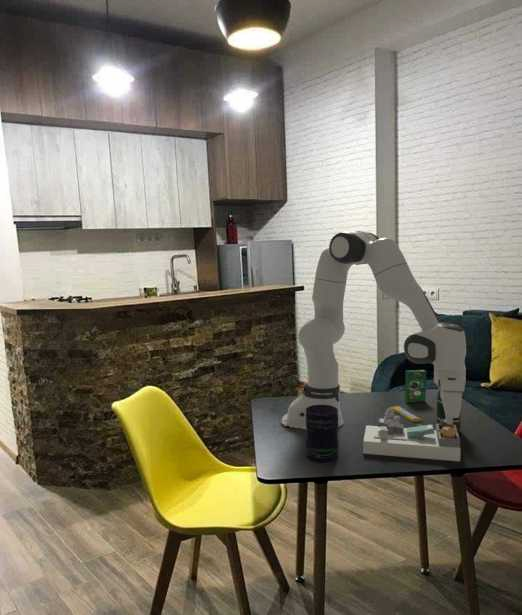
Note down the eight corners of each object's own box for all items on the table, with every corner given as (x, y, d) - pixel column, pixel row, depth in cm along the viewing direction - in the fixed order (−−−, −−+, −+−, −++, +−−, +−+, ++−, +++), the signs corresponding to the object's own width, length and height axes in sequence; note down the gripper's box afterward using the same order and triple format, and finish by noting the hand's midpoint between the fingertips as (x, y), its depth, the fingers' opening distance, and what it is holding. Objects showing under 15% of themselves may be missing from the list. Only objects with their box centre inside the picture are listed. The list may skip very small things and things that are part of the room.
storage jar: (335, 449, 158) (335, 404, 156) (341, 463, 148) (341, 414, 146) (304, 451, 158) (303, 405, 156) (308, 464, 148) (307, 415, 146)
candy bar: (424, 423, 181) (424, 418, 180) (413, 424, 179) (413, 419, 179) (399, 409, 197) (399, 404, 196) (389, 410, 196) (389, 405, 195)
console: (363, 453, 154) (363, 432, 154) (366, 436, 168) (366, 417, 167) (460, 461, 147) (460, 439, 146) (455, 443, 160) (455, 423, 159)
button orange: (442, 438, 149) (442, 430, 149) (441, 434, 152) (441, 426, 152) (455, 439, 148) (455, 431, 148) (454, 434, 151) (454, 427, 151)
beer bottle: (462, 435, 166) (464, 365, 164) (438, 434, 168) (439, 364, 165) (458, 427, 174) (459, 360, 171) (435, 426, 176) (435, 359, 173)
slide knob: (380, 438, 154) (380, 429, 154) (380, 434, 157) (380, 426, 157) (386, 438, 154) (386, 430, 153) (386, 435, 157) (386, 426, 156)
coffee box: (423, 400, 206) (423, 369, 205) (426, 402, 203) (426, 370, 202) (404, 401, 205) (404, 370, 204) (407, 403, 202) (407, 371, 201)
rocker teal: (407, 437, 155) (406, 432, 155) (407, 432, 159) (406, 427, 159) (434, 433, 153) (433, 428, 152) (433, 428, 157) (432, 423, 157)
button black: (440, 430, 156) (440, 422, 155) (439, 426, 159) (440, 418, 159) (453, 431, 155) (453, 423, 154) (451, 427, 158) (452, 419, 158)
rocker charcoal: (377, 426, 160) (378, 421, 160) (378, 422, 164) (379, 417, 164) (402, 433, 158) (403, 428, 158) (402, 428, 162) (403, 423, 162)
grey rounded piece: (379, 425, 178) (379, 404, 177) (396, 423, 179) (396, 402, 179) (386, 431, 173) (386, 408, 172) (403, 429, 174) (403, 406, 173)
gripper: (436, 369, 159) (435, 411, 161) (441, 386, 139) (440, 434, 141) (457, 369, 157) (456, 412, 159) (465, 387, 138) (464, 435, 139)
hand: (449, 422), depth 150 cm, fingers closed
